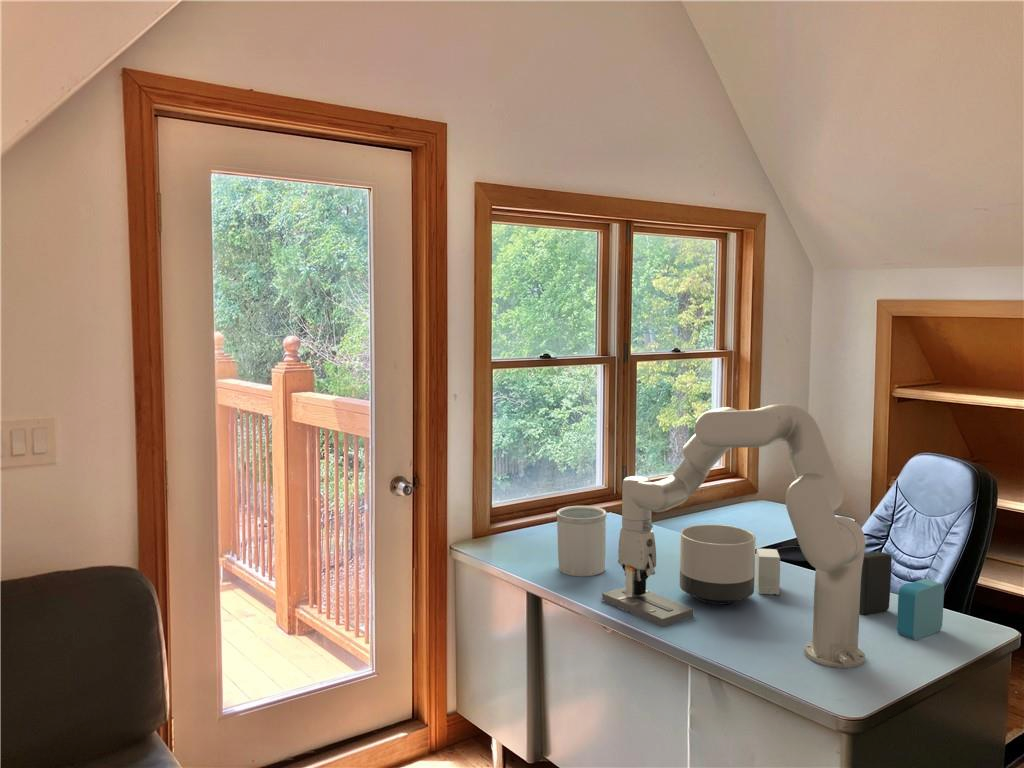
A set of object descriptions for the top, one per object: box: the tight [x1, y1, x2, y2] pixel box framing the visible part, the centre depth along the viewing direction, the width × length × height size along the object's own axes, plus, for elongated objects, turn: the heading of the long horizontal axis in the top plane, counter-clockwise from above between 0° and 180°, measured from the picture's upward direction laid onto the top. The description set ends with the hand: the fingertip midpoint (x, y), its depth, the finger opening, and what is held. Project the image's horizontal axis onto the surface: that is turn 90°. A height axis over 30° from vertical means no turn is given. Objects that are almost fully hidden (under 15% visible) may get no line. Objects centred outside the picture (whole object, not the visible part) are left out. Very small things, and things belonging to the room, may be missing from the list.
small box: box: [755, 547, 781, 596], centre depth 229 cm, size 8×6×10 cm
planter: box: [679, 524, 756, 605], centre depth 222 cm, size 19×19×18 cm
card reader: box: [859, 551, 893, 616], centre depth 213 cm, size 9×4×15 cm, turn 111°
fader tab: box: [625, 566, 647, 598], centre depth 219 cm, size 2×5×8 cm, turn 126°
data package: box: [896, 578, 945, 641], centre depth 199 cm, size 12×4×12 cm, turn 123°
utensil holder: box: [555, 505, 607, 577], centre depth 246 cm, size 15×15×18 cm
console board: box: [601, 586, 695, 628], centre depth 216 cm, size 22×11×2 cm, turn 36°
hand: (635, 591), depth 219 cm, fingers closed on fader tab, 2 cm apart
